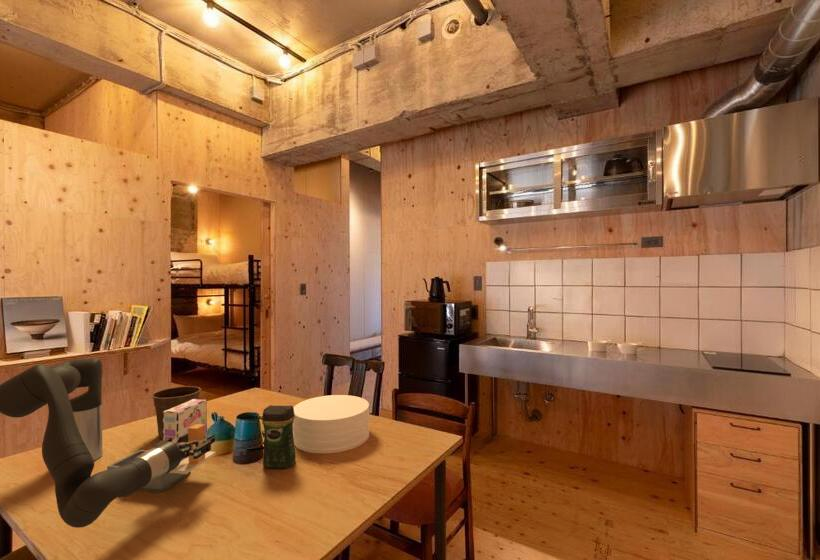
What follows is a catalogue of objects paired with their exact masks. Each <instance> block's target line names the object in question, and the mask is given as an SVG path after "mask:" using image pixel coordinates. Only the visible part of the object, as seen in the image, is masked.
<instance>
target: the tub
mask: <svg viewBox="0 0 820 560" xmlns="http://www.w3.org/2000/svg"><path fill="white" fill-rule="evenodd" d="M148 450H149V449H148ZM148 450H147V449H139V450H138V451H136V452H133V453H131V454H129V455H127V456H125V457H124V458H122V459H121V458H120V460H117V461H115V462H113V463H112V464H109V465H107V468H106V470H108V469H112V468H116V467H120V466H121V465H123V464H125V463H127V462H129V461H131V460H133V459H134V458H136V457H137V456H139V455H140V454H142V453H144V452H146V451H148ZM190 474H191V471H190V472H189V473H187V474H179V473H167V474H165V475H164V476H162V477H161V478H159V479H157V480H156V481H154V482H152V483H150V484H148V485H146V486H144V487H143V488H141V489H139V490H138V491H144V492H151V493H153V492H154V493H163V492H164V491H166V490H168V489H169V488H170V487H172V486H174V485H175V484H176V483H178V482H179V481H181V480H183V479H184V478H186V477H187V476H189V475H190Z"/></svg>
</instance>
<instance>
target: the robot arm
mask: <svg viewBox="0 0 820 560" xmlns="http://www.w3.org/2000/svg"><path fill="white" fill-rule="evenodd" d="M102 383H103V363H102V361H101V359H100V358H98V357H91V358H90V357H89V358H81V359H80V358H79V359H71V360H66V361H64V362H62V363H60V364H56V365H52V366H51V365H50V366H48V365H45V364H42V363H41V364H40V363H39V364H36V365H33V366H32V367H31V366H30V367H28V368H27V369H25V370H23V371H21V372H20V373H17V374H16V375H14V376H13V377H10V378H9V379H7V380H6V381H4V382H2V383H1V384H0V414H2V415H5V416H6V417H10V418H23V417H26V416H29V415H31V414H33V413H34V412H36V411H38V410H39V409H41V408H42V407H44V406H46V405H47V407H48V416H47V423H46V428H45V432H44V435H43V439H42V445H41V455H42V460H43V462H44V465H45V467H46V468H47V471H48V472H49V473H48V474H49V475H50V476H51V478H52V480H53V482H54V493H55V498H56V500H55V501H56V506H57V511H58V515H59V516H60V518H61V520H62V521H63V522H64V523H65V524H66V525H68V526H69V527H72V528H76V529H77V528H78V529H79V528H81V529H82V528H85V527H88V526H89V525H91V524H94V522H95V521H97V519H99V517H100V516H101V514H103V512H104V511H105V510H106V509H107V507H108V506H109V505H110V504H111V503H112V502H113V501H115V499H117V498H126V497H128V496H131V495H132V494H134V493H137V491H140V490H139V489H141V488H143V487H144V486H146V485H148V484H150V483H152V482H154V481H156V480H157V479H159V478H161V477H162V476H164V475H165V474H167V473H169V472H170V471H172V470H174V469H175V468H176V467H178V465H179V464H180V462H181V461H182V459H184V458H186V457H189V456H193V459H197V458H199V457H201V456H202V455H204V454H205V453H207V452H211V451H212V444H213V443H215V442H216V434H211V435H208V436H207V438H205V439H204V440H200V441H197V440H194V441H190V442H188V433H186V434H184V435H182V436H181V437H176V438H174V439H172V438H167V439H165V440H163V439H162V441H159V442H158V443H156V444H154V445H153V446H152V448H150V449H148V451H146V452H144V453H142V454H140V455H139V456H137V457H136V458H134V459H133V460H131V461H129V462H127V463H125V464H123V465H121V466H120V467H116V468H112V469H108V470H107V469H105V470H102V471H99V472H97V473H95V474H93V475H92V472H93V471H94V467H95V461H96V460H98V459H101V458H102V456H103V455H104V454H103V453H104V451H103V407H102V406H103V405H102V404H103V403H102V397H103V395H102V394H103V393H102V389H103V388H102V387H103V384H102ZM79 388H88V389H87V390H86V391H85V392H84V393H82V394H80V395H77V396H75V397H72V398H69V395H70V394H71V393H72V392H74V391H75V390H76V389H79ZM186 442H187V443H186ZM201 443H202V444H201ZM192 444H194V449H193V450H192ZM199 444H201V445H200V446H198V445H199Z"/></svg>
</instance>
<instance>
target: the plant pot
mask: <svg viewBox="0 0 820 560" xmlns="http://www.w3.org/2000/svg"><path fill="white" fill-rule="evenodd" d="M201 390H202V388H201V387H200V386H199V387H198V386H191V385H187V386H185V385H184V386H177V387H175V386H174V387H169V388H164V389H160V390H158V391H155V392H154V393H152V394H151V397H152V399H153V405H154V408H155V414H156V423H157V433H158V434H157V436H158V437H159V438H160V439H162V440H163V411H166V410H168V409H171V408H173V407H176V406H178V405H181V404H183V403H185V402H188V401H190V400H192V399H200V392H201Z"/></svg>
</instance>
